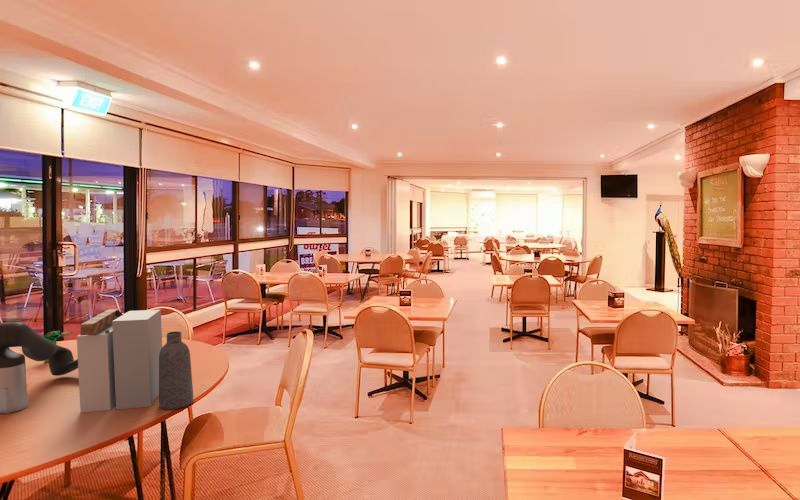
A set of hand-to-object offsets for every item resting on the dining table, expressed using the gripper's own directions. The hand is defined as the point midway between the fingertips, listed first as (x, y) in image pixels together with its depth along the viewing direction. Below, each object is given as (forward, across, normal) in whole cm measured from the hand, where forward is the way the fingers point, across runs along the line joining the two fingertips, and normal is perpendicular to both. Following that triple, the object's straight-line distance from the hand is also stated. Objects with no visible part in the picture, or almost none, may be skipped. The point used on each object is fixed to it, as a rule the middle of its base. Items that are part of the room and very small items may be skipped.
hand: (110, 312), depth 194 cm
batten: (+7, 0, +8) cm, 10 cm away
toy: (-67, -46, +1) cm, 81 cm away
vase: (0, +28, +39) cm, 48 cm away
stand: (-8, +7, +34) cm, 36 cm away
